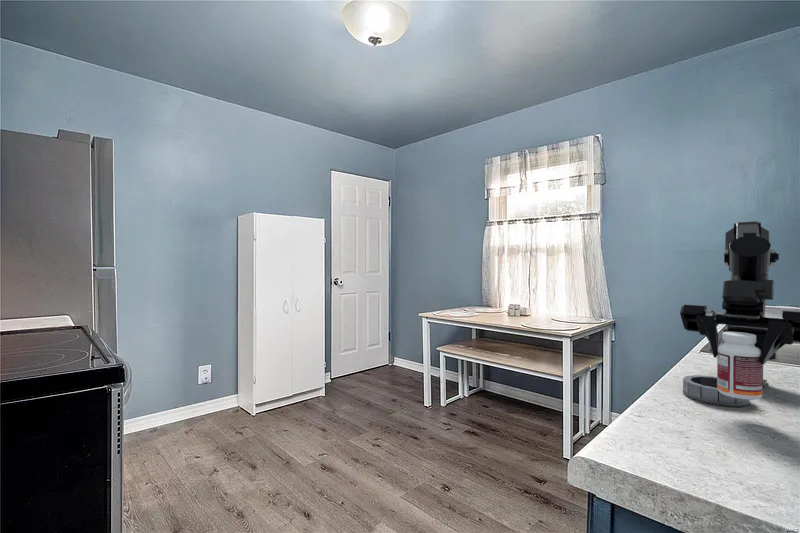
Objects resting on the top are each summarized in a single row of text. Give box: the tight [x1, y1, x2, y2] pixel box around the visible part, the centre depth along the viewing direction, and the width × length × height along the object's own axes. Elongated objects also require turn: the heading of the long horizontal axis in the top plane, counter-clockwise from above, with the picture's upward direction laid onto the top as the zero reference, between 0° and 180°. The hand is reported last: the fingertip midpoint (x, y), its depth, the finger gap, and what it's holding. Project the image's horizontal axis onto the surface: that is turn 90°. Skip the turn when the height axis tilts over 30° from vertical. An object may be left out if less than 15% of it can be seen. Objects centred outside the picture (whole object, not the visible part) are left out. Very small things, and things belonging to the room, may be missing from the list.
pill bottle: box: [716, 332, 763, 401], centre depth 72 cm, size 6×6×11 cm
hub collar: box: [682, 374, 751, 408], centre depth 82 cm, size 11×11×3 cm
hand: (737, 359), depth 71 cm, fingers closed on pill bottle, 6 cm apart
